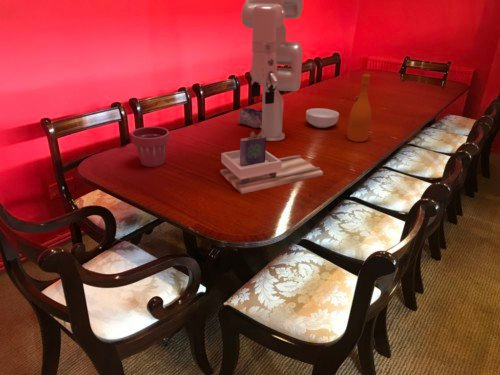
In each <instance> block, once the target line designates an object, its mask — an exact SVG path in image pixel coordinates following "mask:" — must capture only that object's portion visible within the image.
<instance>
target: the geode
mask: <svg viewBox="0 0 500 375" xmlns="http://www.w3.org/2000/svg"><path fill="white" fill-rule="evenodd" d="M238 124H239V125H243V126H247V127H249V128H252V129H261V128H260V126H261V125H262V109H260V110H258V109H256V108H251V107H248V108H247V107H242V110H240V111H239V116H238Z"/></svg>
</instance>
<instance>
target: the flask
mask: <svg viewBox="0 0 500 375" xmlns="http://www.w3.org/2000/svg"><path fill="white" fill-rule="evenodd" d="M239 142H240V143H239V145H240V146H239V148H240V149H239V150H240V165H241V166H248V165H253V164H256V163H257V164H258V163H264V162H265V153H266V151H267V141H266V137H265V136H263V135H262V136H261V135H260V136H259V135H258V134H255V132H254V131H251V132H250V135H249V137H244V138H240V141H239Z"/></svg>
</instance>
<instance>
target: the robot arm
mask: <svg viewBox="0 0 500 375" xmlns="http://www.w3.org/2000/svg"><path fill="white" fill-rule="evenodd" d="M303 11H304V0H245V1H244V3H243V5H242V9H241V15H240V18H241V23H242V25H243V26H244V27H246V29H247V28H248V29H252V30H251V31H252V32H251V33H252V34H251V37H252V39H251V41H252V42H251V43H252V46H251V48H252V49H251V51H252V58H251V59H252V60H251V69H250V70H249V74H250V81H251V82H250V85H251V97H252V98H256V97H257V98H258V97H261V92H262V99H261V100H262V104H261V105H262V106H261V110H262V125H261V126H260V128H259V129H261V131H260V132H259V133H258V134H257V135H259V136H260V135H261V136H262V135H263V136H265V137H266V142H267V141H268V142H277V141H282V140H284V139H285V136H286V134H285V133H284V132H283V117H284V116H283V112H284V98H283V96H282V94H281V93H280V91H281V92H283V91H285V92H296V91H298V90H299V89H300V87H301V83H302V82H301V80H302V69H303V68H302V67H303V66H302V65H303V47H302V45H301V43H299V42H296V41H287V28H286V26H285V20H286V19H290V20H291V19H298V18H300V17H301V16H302V13H303ZM277 65H278V66H289V67H291V68H285V67H283V68H282V67H278V66H277Z"/></svg>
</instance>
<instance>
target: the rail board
mask: <svg viewBox="0 0 500 375" xmlns="http://www.w3.org/2000/svg"><path fill="white" fill-rule="evenodd" d="M278 159H279V160H280V161H282V165H281V171H279V172H276V173H277V174H276V176H275V177H271V176H270V175H269V174H265V175H260V176H255V177H250V178H249V181H248V183H246V184H245V183H243V182H242V181H241V180H240V179H239V178H238V177H237V176H236V175H235V174H234V173H233V172H232V171H230V170H229V169H228V168H225V169H224V168H223V169H220V175H222V177H224V178H225V179H226V180H227V181H228V182H229V183H230V184H231V185H232V186H233V188H235V189H236V190H237V191H238V192H239V193H240V194H241V195H244V194H248V193H251V192H256V191H261V190H265V189H269V188H275V187H278V186H282V185H287V184H291V183H296V182H299V181H305V180H308V179H313V178H318V177H322V176H324V171H322V170H321V167H319V166H314V165H313V164H311V163H310V162H308V161H306V160H305V159H303V158H302V155H300V154H297V155H296V154H295V155H291V156H286V157H281V158H278Z"/></svg>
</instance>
